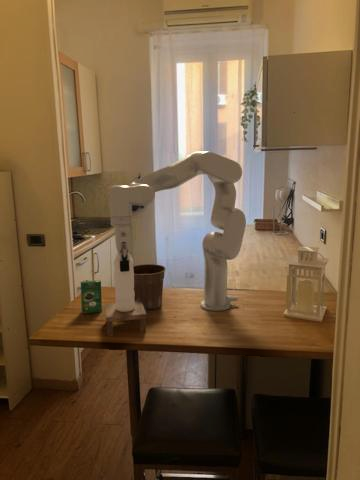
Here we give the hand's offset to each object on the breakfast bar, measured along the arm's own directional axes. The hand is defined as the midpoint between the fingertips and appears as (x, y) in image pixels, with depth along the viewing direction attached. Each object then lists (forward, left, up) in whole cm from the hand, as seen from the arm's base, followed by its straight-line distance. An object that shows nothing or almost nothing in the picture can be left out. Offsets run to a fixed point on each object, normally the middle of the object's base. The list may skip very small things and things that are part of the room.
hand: (123, 267), depth 138 cm
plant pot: (-11, -19, -23) cm, 32 cm away
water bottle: (0, +1, -16) cm, 16 cm away
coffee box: (+12, -17, -23) cm, 31 cm away
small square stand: (0, 0, -23) cm, 23 cm away
